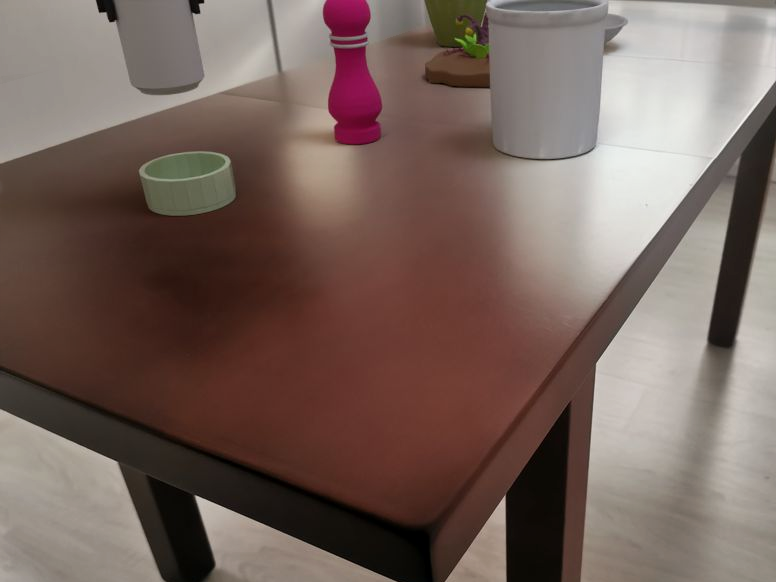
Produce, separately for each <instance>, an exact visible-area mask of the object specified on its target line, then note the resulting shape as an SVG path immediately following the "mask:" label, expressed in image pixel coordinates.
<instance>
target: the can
mask: <svg viewBox="0 0 776 582" xmlns="http://www.w3.org/2000/svg"><path fill="white" fill-rule="evenodd" d="M112 2H113V7H114V11H115V15H116V19H117V20H116V21H115V24H116V25H115V26H116V29H117V31H118V32H117V33H118V37H119V41H120V46H121V49H122V53H123V54H122V55H123V57H124V62H125V65H126V70H127V74H128V78H129V83H130V85H131V86H132V87H133V88H135V89H136V90H137V91H140V93H141V94H143V95H148V96H171V95H178V94H184V93H188V92H190V91H193V90H195V89H198V88H199V86H200V83H201V82H202V81H203V80H204V78H205V71H204V65H203V61H202V56H201V50H200V44H199V39H198V35H197V30H196V25H195V19H194V13H192V9H191V4H190V0H112Z"/></svg>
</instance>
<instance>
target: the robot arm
mask: <svg viewBox="0 0 776 582" xmlns="http://www.w3.org/2000/svg"><path fill="white" fill-rule="evenodd" d="M95 4H96V8H97V11H98V13H99V14H103V13H105V14H106V17H107V18H106V19H107V20H108V23H116V20H117V19H116V15H115V11H114V7H113V2H112V0H95ZM190 4H191V9H192V13H193V15H201V7H200V5H203V4H205V0H190Z"/></svg>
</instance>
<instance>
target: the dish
mask: <svg viewBox="0 0 776 582" xmlns="http://www.w3.org/2000/svg"><path fill="white" fill-rule="evenodd" d="M628 23H629V19H628V18H627V17H625V16H622V15H619V14H614V13H607V15H606V17H605V37H604V44H606V43H608V42H610V41H611V40H613V39H614V38H615V37H616V36H618V34H620V32H621V30H623V28H624V27H625V26H627V25H628Z"/></svg>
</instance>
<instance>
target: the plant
mask: <svg viewBox="0 0 776 582" xmlns="http://www.w3.org/2000/svg"><path fill="white" fill-rule="evenodd" d="M463 17H465V18H467V19H469V20H471V22H472V25H470V26H468V27H467V28H466V31H465V32H466V34H467V35H465V38H466V39H467V42H468V44H469V45H468V44H467V43H466V42H465V41H463V40H461V39H456V38H455V40H456V41H457V42H459V43H460V44H461V45H462V47H458V48H456V47H452V49H451V50H450V49H445V51H441V52H439V53H437V54H436V55H434V56H433V57H432V58H431V59H430V60H428V61H426V62H425V63H424V74H425V79H426V80H427V79H428V81H429V83H430V84H440V83H444V84H443V85H447V84H448V85H447V86H451V87H453V86H457V87H456V88H490V62H489V19H488V18H487V15H486V11H485V13H484V17H483V20H482V24H481V26H480V25H479V24H478V22H477V20H475V19H474V18H473V17H471V16H470V15H468V14H463V15H461V16H459V17H458V18H457V19H456V25H458V26H461V25H462V24H463ZM474 27H475V32H476V33H475V34H474V36H473V38H472V37H470V35H472V34H473V31H474Z"/></svg>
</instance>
